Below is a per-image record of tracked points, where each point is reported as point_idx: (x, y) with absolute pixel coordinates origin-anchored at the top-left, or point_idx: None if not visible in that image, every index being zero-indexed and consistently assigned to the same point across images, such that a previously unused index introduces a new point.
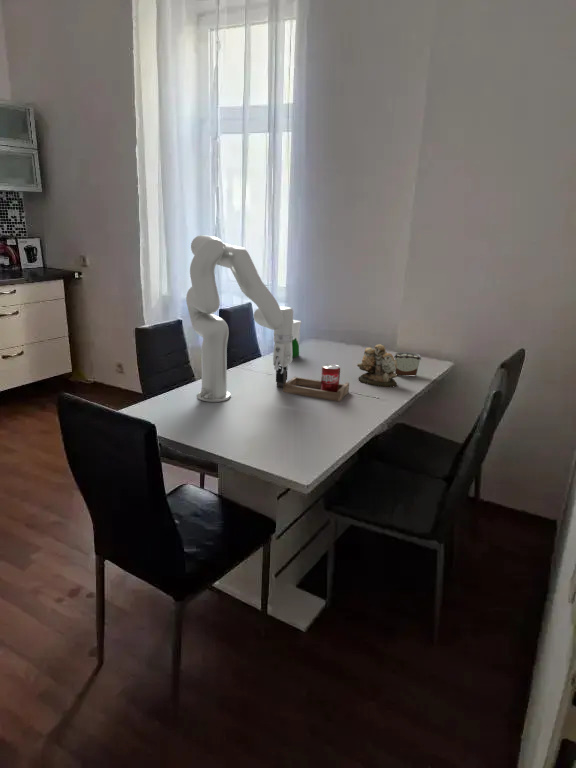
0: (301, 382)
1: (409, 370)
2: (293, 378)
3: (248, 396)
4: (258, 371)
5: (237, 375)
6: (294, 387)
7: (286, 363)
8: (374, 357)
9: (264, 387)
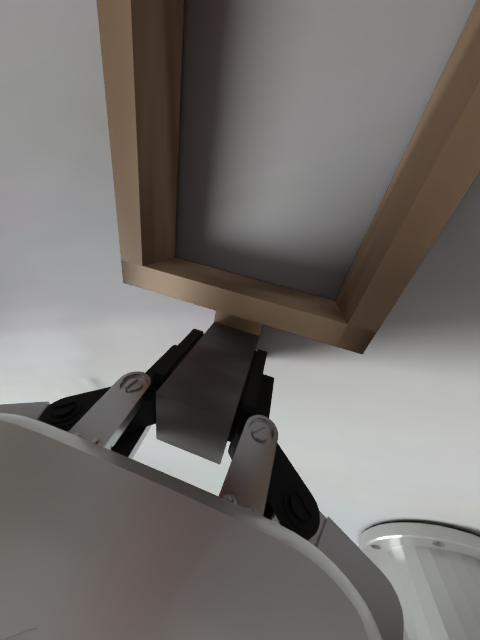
0: (162, 213)
1: None
2: (166, 286)
3: (427, 471)
4: None
5: (165, 467)
6: (427, 240)
7: (217, 614)
8: None
9: None
